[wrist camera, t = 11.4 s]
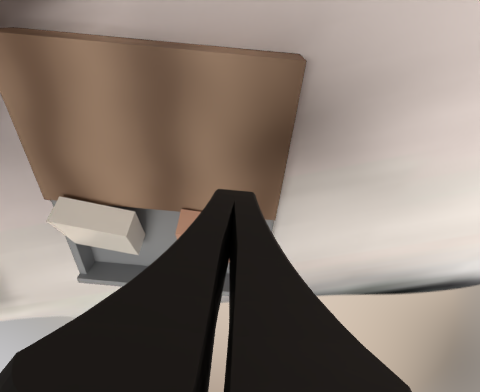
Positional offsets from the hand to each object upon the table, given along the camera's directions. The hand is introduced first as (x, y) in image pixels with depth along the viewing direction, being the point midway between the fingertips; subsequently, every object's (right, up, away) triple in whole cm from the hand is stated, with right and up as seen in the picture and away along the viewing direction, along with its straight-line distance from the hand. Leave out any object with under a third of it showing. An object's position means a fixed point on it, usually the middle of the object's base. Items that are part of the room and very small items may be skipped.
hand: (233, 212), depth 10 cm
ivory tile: (-10, -1, +11) cm, 14 cm away
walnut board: (-5, +5, +8) cm, 11 cm away
